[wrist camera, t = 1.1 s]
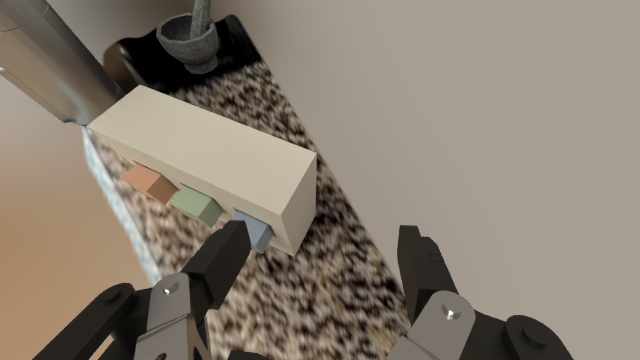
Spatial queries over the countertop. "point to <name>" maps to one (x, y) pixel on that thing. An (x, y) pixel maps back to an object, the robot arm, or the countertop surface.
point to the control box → (217, 161)
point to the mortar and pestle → (191, 38)
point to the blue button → (255, 231)
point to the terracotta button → (150, 183)
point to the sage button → (197, 206)
